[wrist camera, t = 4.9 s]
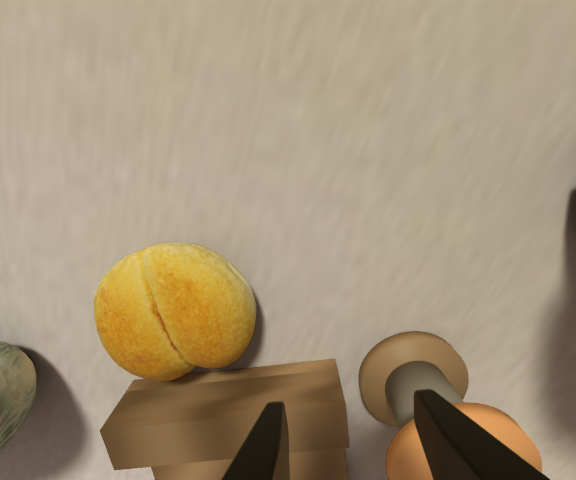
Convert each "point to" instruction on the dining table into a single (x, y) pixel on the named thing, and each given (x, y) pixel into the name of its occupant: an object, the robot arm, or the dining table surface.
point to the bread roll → (174, 311)
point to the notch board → (229, 421)
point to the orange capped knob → (426, 375)
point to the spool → (14, 390)
